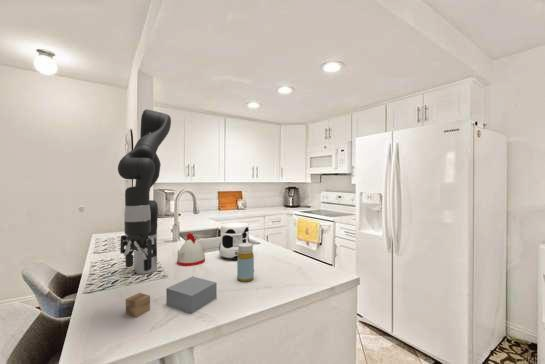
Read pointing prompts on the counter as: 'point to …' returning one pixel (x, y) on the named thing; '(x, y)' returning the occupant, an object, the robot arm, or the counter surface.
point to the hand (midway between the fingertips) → (138, 268)
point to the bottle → (245, 262)
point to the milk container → (233, 238)
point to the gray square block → (191, 294)
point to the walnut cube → (137, 304)
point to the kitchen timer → (190, 252)
